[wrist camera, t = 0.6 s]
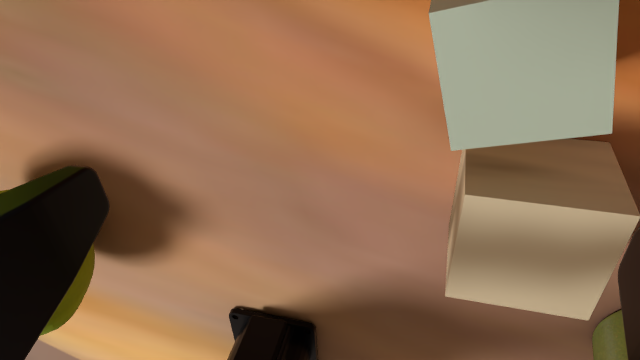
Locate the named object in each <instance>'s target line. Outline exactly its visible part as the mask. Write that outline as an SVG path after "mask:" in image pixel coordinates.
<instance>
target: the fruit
mask: <svg viewBox="0 0 640 360" xmlns="http://www.w3.org/2000/svg"><path fill="white" fill-rule="evenodd" d="M5 191H8V190H4V191H0V194H1V193H3V192H5ZM94 262H95V253H94V244H92V246H91V248H90V250H89V252H88V254H87V256H86V258H85V260H84V262H83V264H82V266H81V268H80V270H79V272H78V274H77V276H76V278H75V280H74V282H73V283H72V285H71V287H70V288H69V290H68V292H67V293H66V295H65V296H64V298H63V300H62V301H61V303H60V304H59V306H58V307H57V309H56V311H55V312H54V314H53V315H52V317H51V319H50V320H49V322H48V323H47V325H46V326H45V328H44V330H43V331H42V333H41V334H40V335H44V334H47V333H49V332H51V331H53V330H56V329H58V328H59V327H61V326H62V325H63V324H65V323H66V322H67V321H68V320H69V319H70V318H71V317H72V316H73V314H74V313H75V311H76V310H77V309H78V307H79V305H80V303H81V302H82V299H83V297H84V295H85V293H86V291H87V289H88V287H89V284H90V281H91V278H92V275H93V270H94Z"/></svg>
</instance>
